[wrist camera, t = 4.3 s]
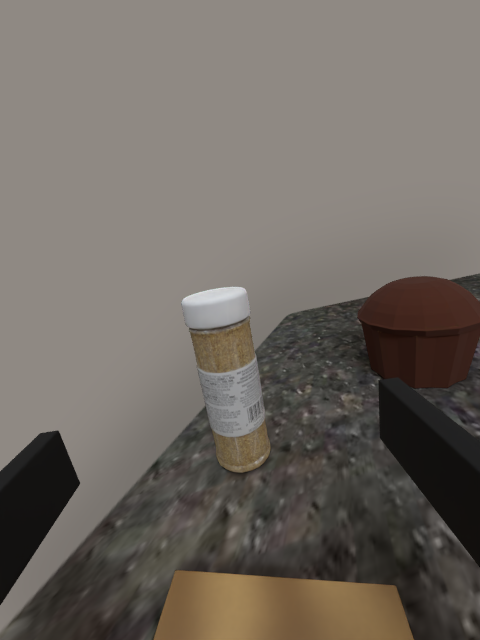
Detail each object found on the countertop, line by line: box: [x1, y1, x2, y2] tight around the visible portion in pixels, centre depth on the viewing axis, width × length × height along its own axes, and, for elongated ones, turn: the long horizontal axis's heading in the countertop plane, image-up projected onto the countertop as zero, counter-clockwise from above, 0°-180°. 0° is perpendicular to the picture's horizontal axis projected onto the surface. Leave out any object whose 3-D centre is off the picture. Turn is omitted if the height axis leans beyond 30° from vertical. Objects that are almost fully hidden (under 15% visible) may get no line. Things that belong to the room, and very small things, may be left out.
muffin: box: [357, 276, 480, 388], centre depth 28 cm, size 12×11×10 cm
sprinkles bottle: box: [181, 287, 271, 473], centre depth 20 cm, size 5×5×13 cm
